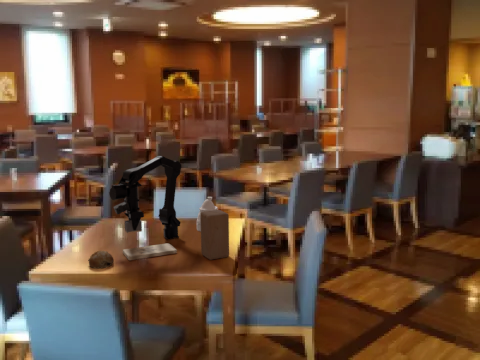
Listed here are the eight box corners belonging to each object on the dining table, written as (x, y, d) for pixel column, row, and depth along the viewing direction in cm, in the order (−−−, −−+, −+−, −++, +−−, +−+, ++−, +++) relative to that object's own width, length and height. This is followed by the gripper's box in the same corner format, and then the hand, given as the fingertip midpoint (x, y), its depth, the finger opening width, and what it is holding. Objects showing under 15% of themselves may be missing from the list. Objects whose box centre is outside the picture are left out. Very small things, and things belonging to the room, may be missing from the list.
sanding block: (139, 229, 230) (139, 219, 230) (141, 231, 226) (141, 221, 226) (125, 231, 227) (124, 220, 227) (127, 233, 223) (126, 222, 223)
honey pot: (225, 229, 259) (224, 196, 256) (205, 233, 251) (205, 200, 248) (210, 224, 269) (210, 193, 266) (192, 228, 261) (191, 196, 258)
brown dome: (97, 278, 199) (102, 262, 196) (81, 264, 203) (86, 249, 200) (115, 270, 207) (120, 256, 204) (99, 257, 211) (104, 243, 208)
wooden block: (209, 260, 208) (208, 216, 204) (200, 254, 216) (199, 211, 213) (230, 257, 212) (229, 213, 209) (220, 251, 221) (219, 208, 218)
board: (168, 246, 230) (168, 243, 229) (176, 253, 219) (176, 249, 219) (122, 252, 220) (122, 249, 220) (128, 260, 209) (128, 257, 209)
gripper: (110, 195, 229) (112, 226, 231) (118, 202, 212) (120, 236, 215) (133, 192, 234) (135, 223, 236) (143, 199, 217) (145, 232, 220)
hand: (133, 229), depth 227 cm, fingers closed on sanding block, 4 cm apart
